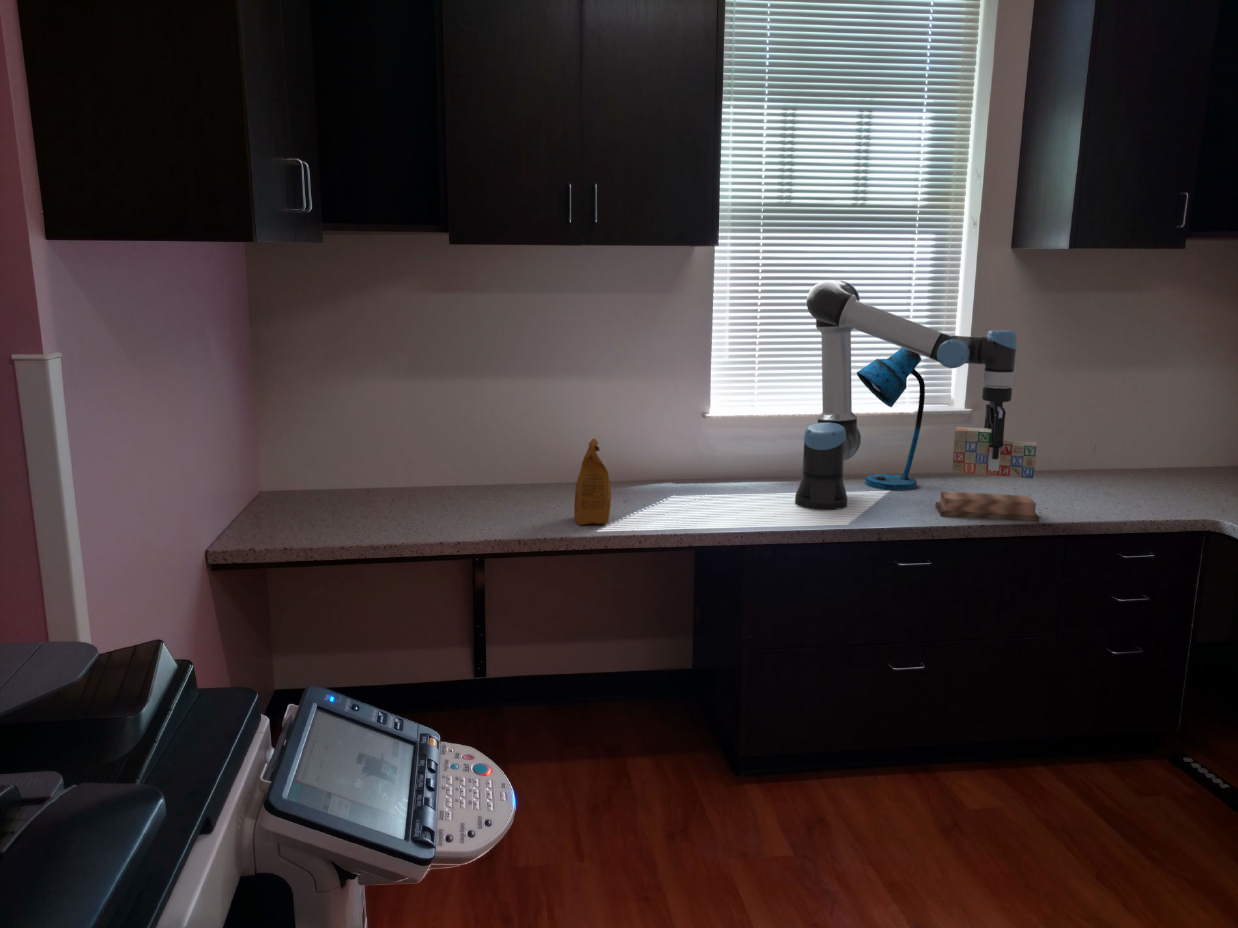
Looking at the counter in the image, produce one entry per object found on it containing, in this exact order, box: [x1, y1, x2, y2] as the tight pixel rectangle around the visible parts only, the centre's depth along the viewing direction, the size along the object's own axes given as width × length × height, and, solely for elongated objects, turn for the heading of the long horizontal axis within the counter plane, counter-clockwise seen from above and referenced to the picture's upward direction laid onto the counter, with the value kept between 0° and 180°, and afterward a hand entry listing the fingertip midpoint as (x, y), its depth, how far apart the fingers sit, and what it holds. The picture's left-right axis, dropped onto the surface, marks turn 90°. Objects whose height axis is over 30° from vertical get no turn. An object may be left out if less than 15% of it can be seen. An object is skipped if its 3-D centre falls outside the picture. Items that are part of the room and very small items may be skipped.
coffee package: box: [573, 437, 612, 526], centre depth 252 cm, size 10×12×22 cm
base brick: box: [934, 490, 1040, 523], centre depth 266 cm, size 26×11×5 cm, turn 80°
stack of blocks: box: [951, 426, 1037, 479], centre depth 262 cm, size 21×6×12 cm, turn 66°
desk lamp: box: [856, 347, 926, 491], centre depth 297 cm, size 16×22×45 cm
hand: (990, 467), depth 263 cm, fingers closed on stack of blocks, 7 cm apart
